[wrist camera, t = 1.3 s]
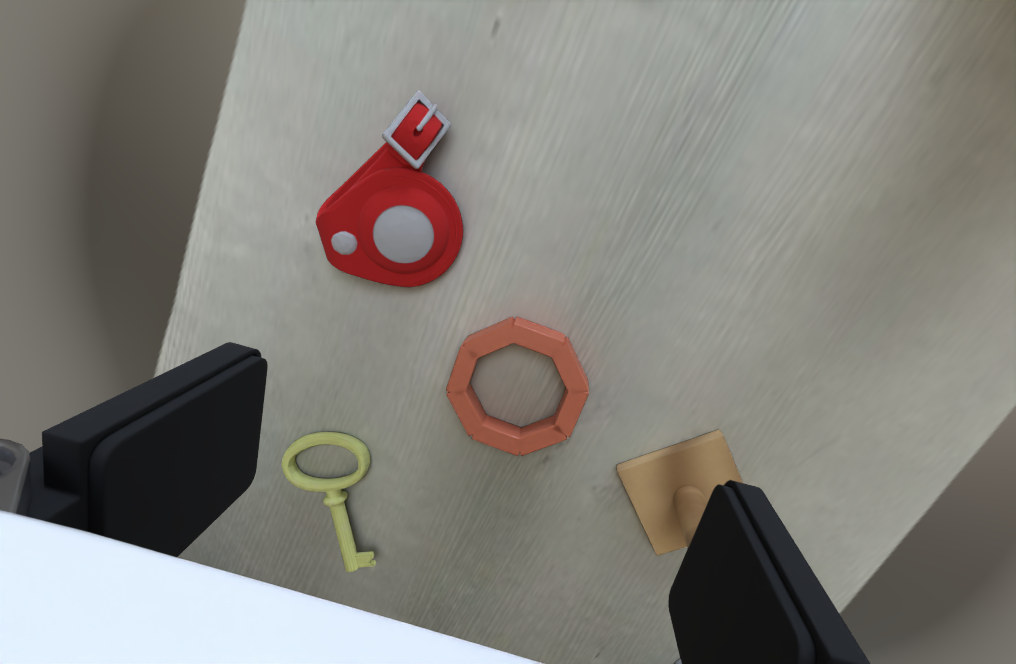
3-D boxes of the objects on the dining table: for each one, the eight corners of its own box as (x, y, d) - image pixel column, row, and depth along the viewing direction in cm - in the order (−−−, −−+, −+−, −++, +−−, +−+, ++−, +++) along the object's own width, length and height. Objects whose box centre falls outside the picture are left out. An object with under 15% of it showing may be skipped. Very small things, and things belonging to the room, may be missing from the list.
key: (358, 561, 45) (348, 579, 43) (278, 447, 43) (263, 461, 41) (426, 533, 44) (419, 550, 42) (346, 413, 41) (335, 425, 39)
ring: (550, 299, 37) (549, 305, 35) (604, 414, 39) (605, 425, 37) (433, 351, 39) (426, 359, 37) (489, 456, 41) (486, 469, 39)
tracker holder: (480, 281, 36) (334, 309, 35) (474, 259, 39) (342, 284, 39) (445, 88, 30) (268, 118, 29) (442, 84, 34) (286, 110, 33)
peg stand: (719, 428, 38) (767, 514, 28) (756, 516, 40) (812, 625, 30) (616, 464, 40) (628, 556, 30) (655, 547, 41) (678, 658, 32)
